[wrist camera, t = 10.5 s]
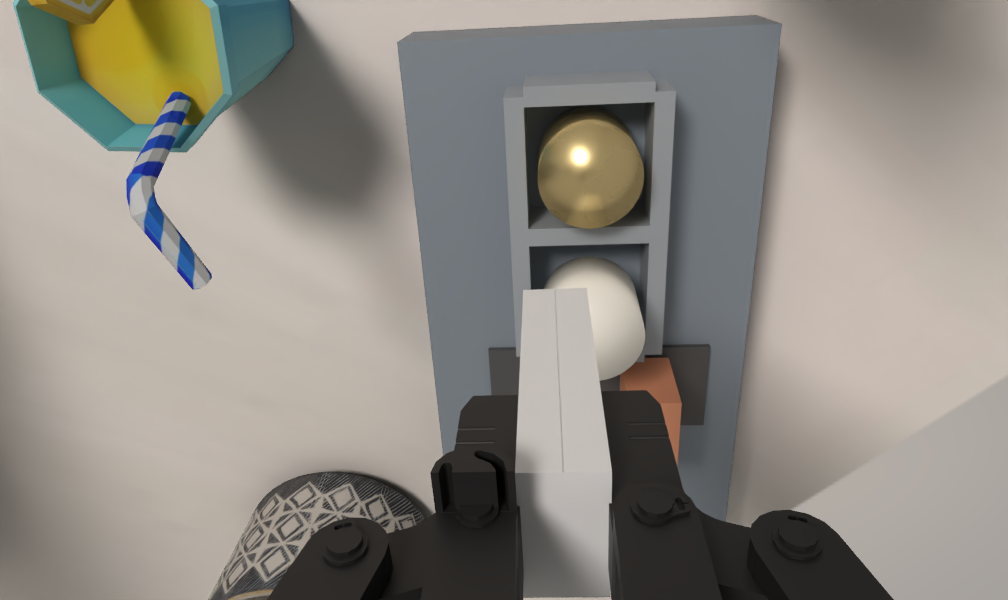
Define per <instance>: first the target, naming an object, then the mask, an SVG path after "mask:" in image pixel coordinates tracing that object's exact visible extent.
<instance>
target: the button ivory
mask: <svg viewBox="0 0 1008 600" xmlns="http://www.w3.org/2000/svg"><path fill="white" fill-rule="evenodd" d="M569 288H587V295H588V302H589V309H590V316H591V324H592V331H593V338H594V345H595V352H596V359H597V367H598V374H599V381H601V380H606V379H610V378H613V377H615V376H618V375H620V374H621V373H623V372H625V371H626V370H627V369H629V368H630V367H631V366H632V365H633V364H634V363H635V362H636V360H637V359H638V357H639V356H640V354H641V352H642V350H643V347H644V343H645V328H644V323H643V319H642V315H641V311H640V307H639V303H638V299H637V295H636V291H635V287H634V284H633V282H632V280H631V278H630V276H629V275H628V274H627V272H626V271H625V270H624V269H623V268H622V267H620V266H619V265H618V264H616V263H614V262H612V261H610V260H608V259H605V258H601V257H592V256H587V257H580V258H575V259H573V260H570V261H568V262H566V263H564V264H562V265H561V266H559V267H558V268H557V269H556V270H555V271H554V272H553V273H552V274H551V275H550V277H549V278H548V280H547V282H546V284H545V286H544V289H569Z"/></svg>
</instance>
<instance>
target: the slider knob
mask: <svg viewBox="0 0 1008 600" xmlns="http://www.w3.org/2000/svg"><path fill="white" fill-rule="evenodd" d="M629 390H647V391H648V392H649V393H650V394H651V395H652V396H653V397H654V398H655V399H656V400H657V401H658V402H659V403H660V404H661V407H662V411H663V415H664V419H665V425H666V426H667V430H668V434H669V439H670V441H671V445H672V449H673V453H674V456H675V460H676V464H678V449H679V435H680V421H681V407H682V402H681V399H680V395H679V392H678V388H677V385H676V382H675V378H674V375H673V371H672V368H671V364H670V361H669V358H644V362H635V363H634V364H633V365H632V366H631V367H630V368H629V369H627V370H626V371H625V372H623V373H621V374H620V391H629Z"/></svg>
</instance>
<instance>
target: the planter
mask: <svg viewBox="0 0 1008 600" xmlns="http://www.w3.org/2000/svg"><path fill="white" fill-rule="evenodd" d="M349 517H352V518H367V519H370V520H372V521H375V522H378V523H379V524H380V525H381V526H382V527H383V528H384V529H385V530H386V533H391V532H394V531H398V530H402V529H406V528H409V527H412V526H415V525H417V524H420V523H421V522H423V521H425V520H426V518H425V517H424V515H423V514H422V513H421V512H420V510H419V509H418V508H417V507H416V506H415V505H414V504H413V503H412V502H411V501H410V500H408V499H407V498H406V497H405V496H403V495H402V494H400V493H399V492H397V491H396V490H394V489H392V488H391V487H389V486H387V485H385V484H383V483H380V482H378V481H375V480H373V479H370V478H367V477H363V476H359V475H355V474H349V473H341V472H321V473H312V474H307V475H303V476H299V477H296V478H293V479H291V480H288V481H286V482H284V483H282V484H281V485H279V486H277V487H276V488H274V489H273V490H272V491H271V492H269V493H268V494H267V495H266V496H265V497H264V498H263V499H262V501H261V502H260V503H259V505H258V506H257V508H256V509H255V511H254V513H253V515H252V517H251V519H250V521H249V523H248V525H247V527H246V529H245V530H244V532H243V534H242V536H241V538H240V540H239V542H238V544H237V546H236V548H235V550H234V552H233V553H232V555H231V557H230V559H229V561H228V563H227V565H226V567H225V569H224V571H223V573H222V574H221V576H220V578H219V580H218V582H217V584H216V586H215V588H214V590H213V592H212V594H211V596H210V597H209V599H208V600H267V598H268V597H269V596H270V594H271V593H272V591H273V590H274V588H275V587H276V586H277V584H278V583H279V581H280V580H281V578H282V577H283V576H284V574H285V573H286V571H287V570H288V568H289V567H290V566H291V564H292V563H293V561H294V560H295V558H296V557H297V556H298V554H299V553H300V551H301V550H302V549H303V547H304V546H305V544H306V543H307V541H308V540H309V539H310V538H311V537H312V536H313V535H314V534H315V533H316V532H317V531H318V530H319V529H321V528H323V527H325V526H326V525H328V524H330V523H332V522H334V521H338V520H341V519H345V518H349Z"/></svg>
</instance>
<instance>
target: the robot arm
mask: <svg viewBox="0 0 1008 600" xmlns="http://www.w3.org/2000/svg"><path fill="white" fill-rule="evenodd" d="M431 480H432V488H433V496H434V503H435V511H436V513H435V514H433V515H432V516H431V517H430V518H428V519H427V520H425V521H423V522H421V523H420V524H417V525H415V526H412V527H409V528H406V529H402V530H398V531H394V532H391V533H386V530H385V529H384V528H383V527H382V526H381V525H380V524H379V523H378V522H375V521H372V520H370V519H367V518H352V517H349V518H345V519H341V520H338V521H334V522H332V523H330V524H328V525H326V526H325V527H323V528H321V529H319V530H318V531H317V532H316V533H315V534H314V535H313V536H312V537H311V538H310V539H309V540H308V541H307V543H306V544H305V546H304V547H303V549H302V550H301V551H300V553H299V554H298V556H297V557H296V558H295V560H294V561H293V563H292V564H291V566H290V567H289V568H288V570H287V571H286V573H285V574H284V576H283V577H282V578H281V580H280V581H279V583H278V584H277V586H276V587H275V588H274V590H273V591H272V593H271V594H270V596H269V597H268V598H267V600H523V598H533V597H610V590H611V599H612V600H893V598H892V597H891V596H890V595H889V594H888V593H887V591H886V590H885V589H884V588H883V587H882V585H881V584H880V583H879V582H878V581H877V580H876V578H874V576H873V575H872V574H871V572H870V571H869V570H868V569H867V568H866V567H865V565H864V564H863V563H862V562H861V561H860V559H859V558H858V557H857V556H856V555H855V554H854V552H853V551H852V550H851V549H850V548H849V546H848V545H847V544H846V543H845V542H844V541H843V539H842V538H841V537H840V536H839V535H838V534H837V533H836V532H835V531H834V530H833V529H832V528H831V527H830V526H828V525H827V524H826V523H825V522H823V521H821V520H819V519H817V518H815V517H813V516H811V515H809V514H806V513H801V512H796V511H792V510H779V511H771V512H769V513H766V514H763V515H761V516H759V517H758V519H757V520H756V521H755V522H754V523H753V524H752V526H751V528H749V527H745V526H740V525H736V524H732V523H727V522H724V521H721V520H718V519H715V518H713V517H711V516H709V515H707V514H705V513H703V512H702V511H700V510H699V509H698V508H697V507H696V506H695V504H694V502H693V501H692V499H691V498H690V497H689V496H688V495H686V494H685V492H684V490H683V487H682V483H681V479H680V475H679V472H678V468H677V464H676V460H675V456H674V453H673V449H672V445H671V441H670V439H669V434H668V430H667V426H666V425H665V419H664V415H663V411H662V407H661V404H660V403H659V402H658V401H657V400H656V399H655V398H654V397H653V396H652V395H651V394H650V393H649V392H648V391H647V390H629V391H601V388H600V381H599V374H598V367H597V359H596V352H595V345H594V338H593V331H592V324H591V316H590V309H589V302H588V295H587V288H569V289H538V290H523V307H522V329H521V351H520V373H519V395H485V396H473V397H472V398H471V399H470V400H469V401H468V403H467V404H466V405H465V406H464V407H463V409H462V410H461V412H460V418H459V424H458V431H457V436H456V445H455V447H454V451H451V452H449V453H446V454H445V455H444V456H443V457H441V458H440V459H439V460H438V461H437V462H436V463H435V465H434V467H433V469H432V471H431Z"/></svg>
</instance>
